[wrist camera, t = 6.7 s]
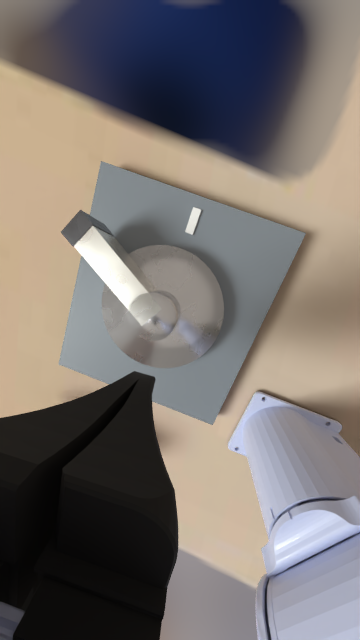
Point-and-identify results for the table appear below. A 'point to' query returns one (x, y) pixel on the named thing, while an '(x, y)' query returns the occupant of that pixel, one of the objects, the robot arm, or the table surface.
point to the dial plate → (209, 246)
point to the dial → (151, 296)
